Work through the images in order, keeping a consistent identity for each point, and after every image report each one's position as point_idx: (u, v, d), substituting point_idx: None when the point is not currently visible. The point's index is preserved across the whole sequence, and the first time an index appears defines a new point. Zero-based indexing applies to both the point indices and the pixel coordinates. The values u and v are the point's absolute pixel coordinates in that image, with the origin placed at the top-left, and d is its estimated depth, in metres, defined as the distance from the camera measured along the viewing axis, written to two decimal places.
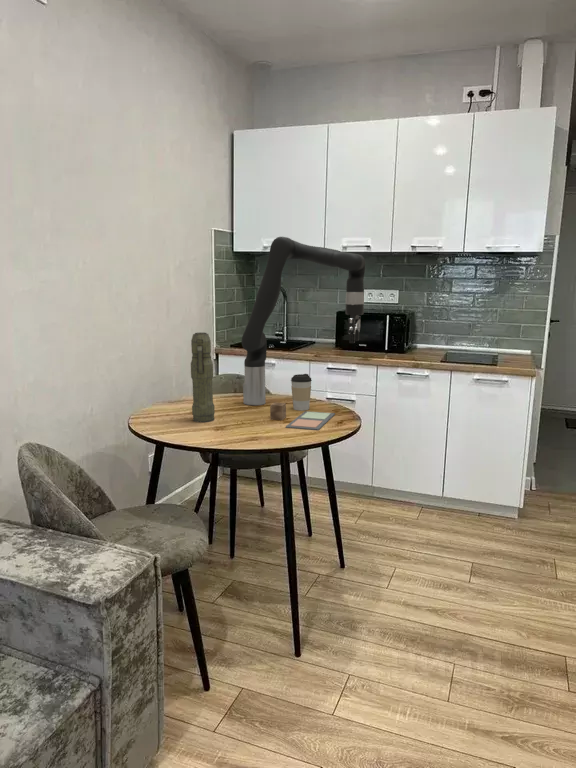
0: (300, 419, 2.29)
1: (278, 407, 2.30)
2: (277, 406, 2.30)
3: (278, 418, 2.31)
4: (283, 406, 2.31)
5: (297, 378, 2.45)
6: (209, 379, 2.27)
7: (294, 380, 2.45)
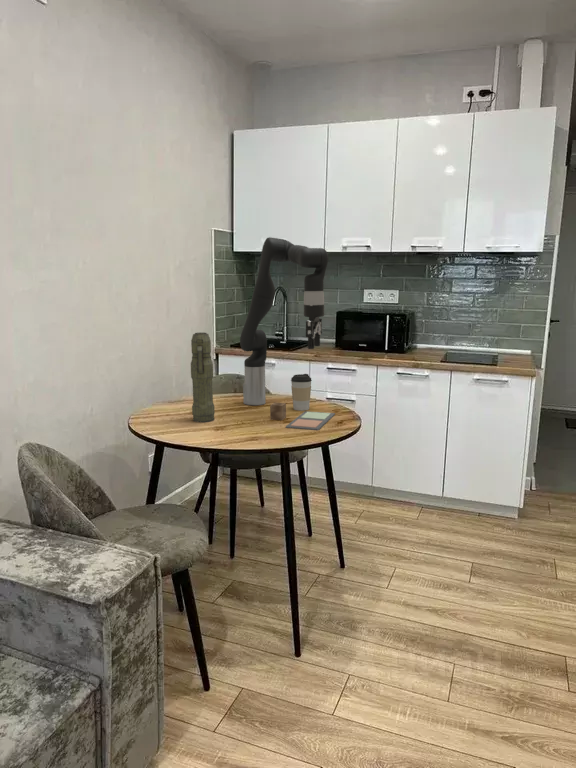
0: (300, 419, 2.29)
1: (278, 407, 2.30)
2: (277, 406, 2.30)
3: (278, 418, 2.31)
4: (283, 406, 2.31)
5: (297, 378, 2.45)
6: (209, 379, 2.27)
7: (294, 380, 2.45)
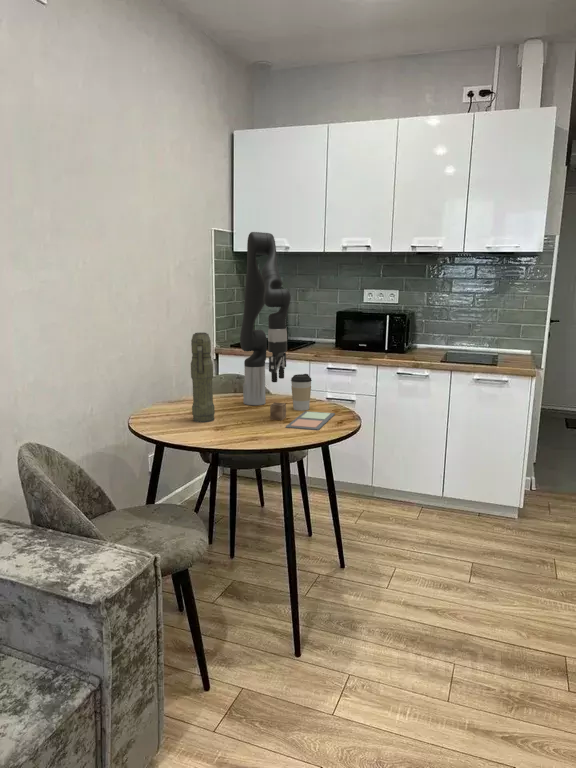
0: (300, 419, 2.29)
1: (278, 407, 2.30)
2: (277, 406, 2.30)
3: (278, 418, 2.31)
4: (283, 406, 2.31)
5: (297, 378, 2.45)
6: (209, 379, 2.27)
7: (294, 380, 2.45)
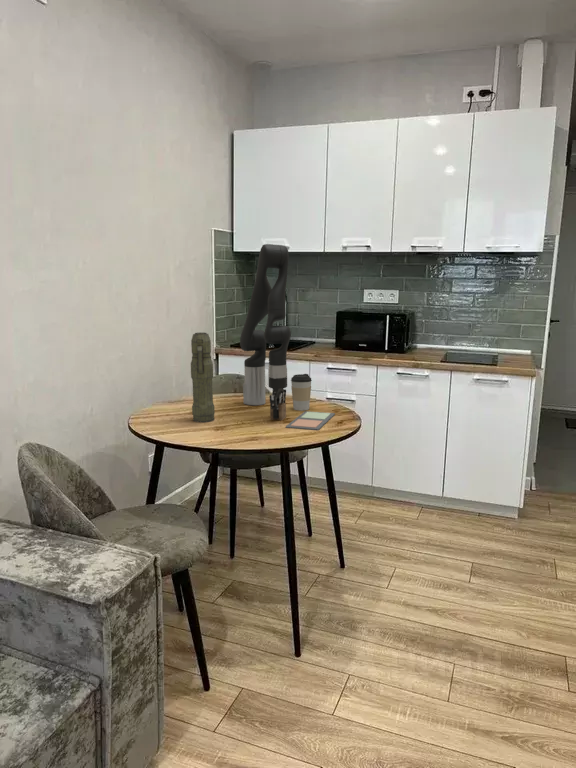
0: (300, 419, 2.29)
1: None
2: None
3: (278, 418, 2.31)
4: (283, 406, 2.31)
5: (297, 378, 2.45)
6: (209, 379, 2.27)
7: (294, 380, 2.45)
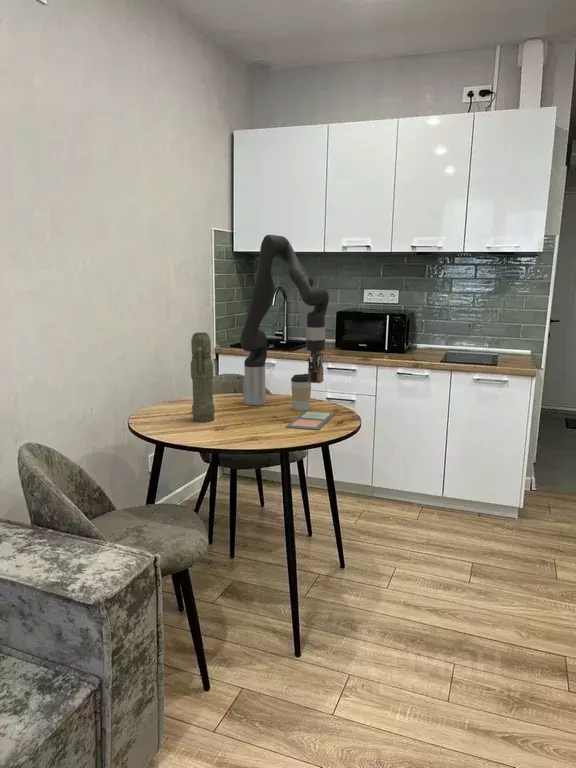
0: (300, 419, 2.29)
1: None
2: None
3: (316, 381, 2.30)
4: (321, 369, 2.30)
5: (297, 378, 2.45)
6: (209, 379, 2.27)
7: (294, 380, 2.45)
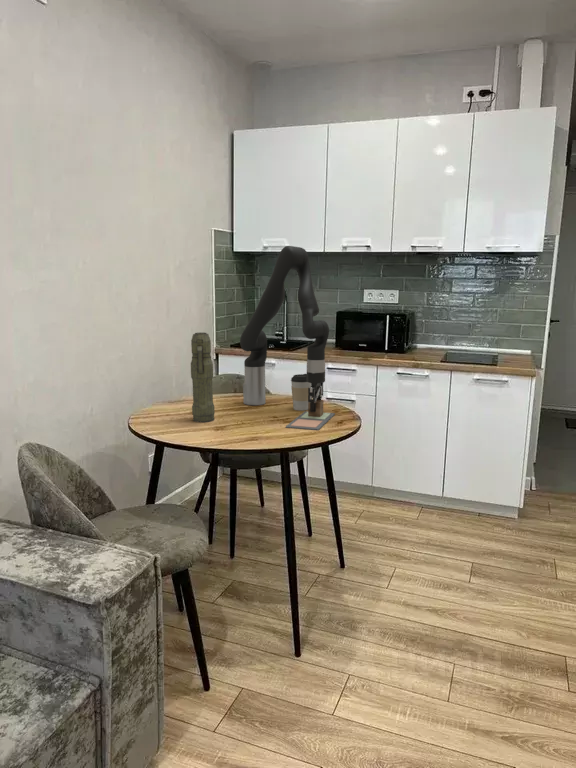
0: (300, 419, 2.29)
1: (316, 403, 2.32)
2: None
3: (316, 415, 2.33)
4: (321, 403, 2.33)
5: (297, 378, 2.45)
6: (209, 379, 2.27)
7: (294, 380, 2.45)
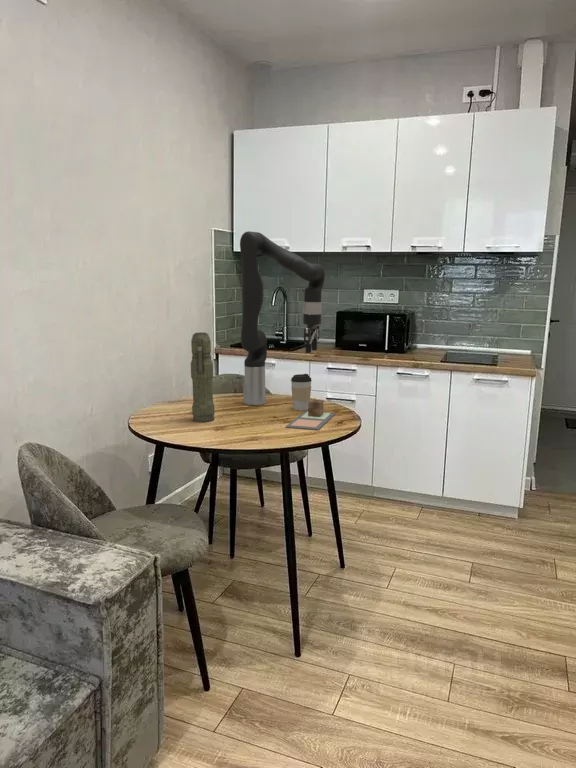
0: (300, 419, 2.29)
1: (316, 403, 2.32)
2: (315, 403, 2.32)
3: (316, 415, 2.33)
4: (321, 403, 2.33)
5: (297, 378, 2.45)
6: (209, 379, 2.27)
7: (294, 380, 2.45)
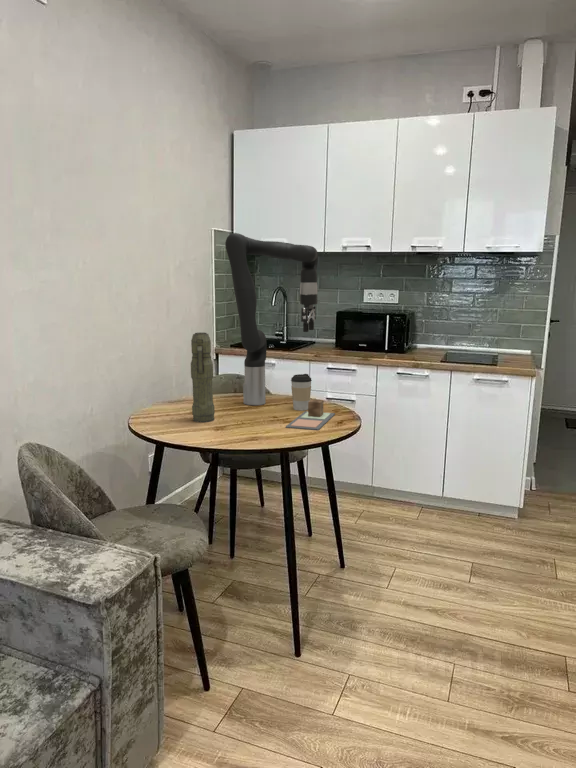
0: (300, 419, 2.29)
1: (316, 403, 2.32)
2: (315, 403, 2.32)
3: (316, 415, 2.33)
4: (321, 403, 2.33)
5: (297, 378, 2.45)
6: (209, 379, 2.27)
7: (294, 380, 2.45)
